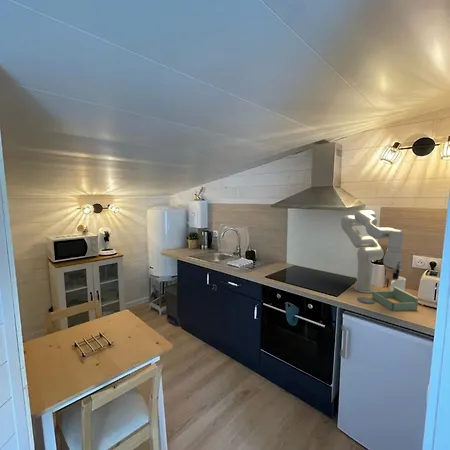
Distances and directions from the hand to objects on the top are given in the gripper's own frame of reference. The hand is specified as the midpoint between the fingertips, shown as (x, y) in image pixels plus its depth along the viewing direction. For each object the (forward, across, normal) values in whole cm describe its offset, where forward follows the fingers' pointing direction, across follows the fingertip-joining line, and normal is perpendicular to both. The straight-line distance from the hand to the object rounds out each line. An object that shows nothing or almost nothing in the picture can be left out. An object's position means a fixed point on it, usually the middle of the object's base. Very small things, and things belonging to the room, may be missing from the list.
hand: (391, 276), depth 167 cm
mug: (+18, -16, +18) cm, 30 cm away
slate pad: (+17, -4, -13) cm, 22 cm away
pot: (+1, 0, 0) cm, 1 cm away
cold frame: (+17, +1, +2) cm, 18 cm away
